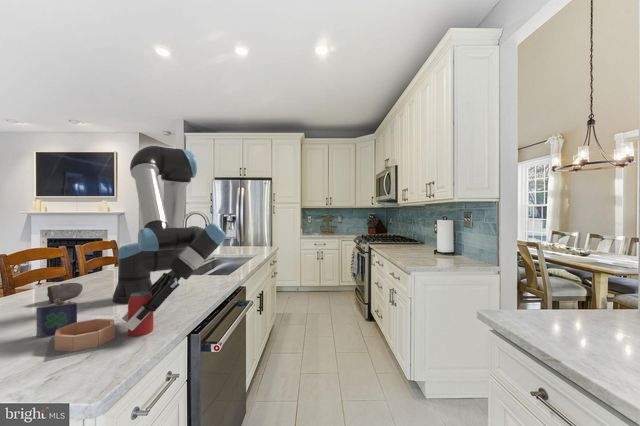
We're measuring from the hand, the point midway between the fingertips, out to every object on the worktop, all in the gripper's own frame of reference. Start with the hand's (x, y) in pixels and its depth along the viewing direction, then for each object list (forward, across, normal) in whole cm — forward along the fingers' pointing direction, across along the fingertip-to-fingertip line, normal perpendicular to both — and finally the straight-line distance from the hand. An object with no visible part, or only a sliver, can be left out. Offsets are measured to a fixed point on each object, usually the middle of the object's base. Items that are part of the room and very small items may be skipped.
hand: (126, 324), depth 89 cm
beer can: (0, 0, -5) cm, 5 cm away
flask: (+14, +14, +9) cm, 22 cm away
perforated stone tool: (+14, +60, +9) cm, 62 cm away
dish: (+9, +2, +4) cm, 10 cm away
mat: (+9, +2, +4) cm, 10 cm away
